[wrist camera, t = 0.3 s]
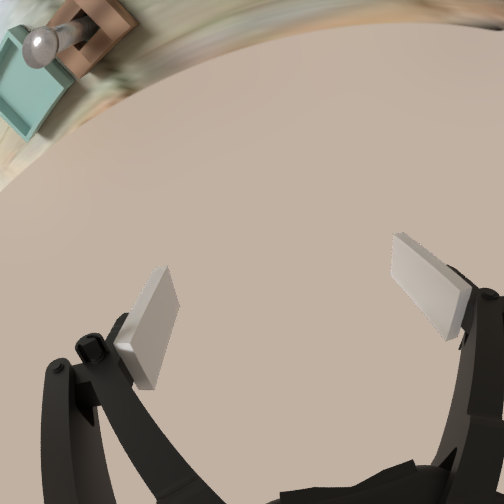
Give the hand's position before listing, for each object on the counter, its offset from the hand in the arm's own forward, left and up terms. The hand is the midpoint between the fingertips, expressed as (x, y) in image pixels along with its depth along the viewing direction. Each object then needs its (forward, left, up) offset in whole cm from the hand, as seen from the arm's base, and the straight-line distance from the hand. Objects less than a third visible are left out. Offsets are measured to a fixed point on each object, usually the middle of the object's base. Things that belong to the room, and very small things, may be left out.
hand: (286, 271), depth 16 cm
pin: (-25, -17, -33) cm, 45 cm away
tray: (-29, -34, -33) cm, 55 cm away
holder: (-25, -17, -33) cm, 45 cm away
